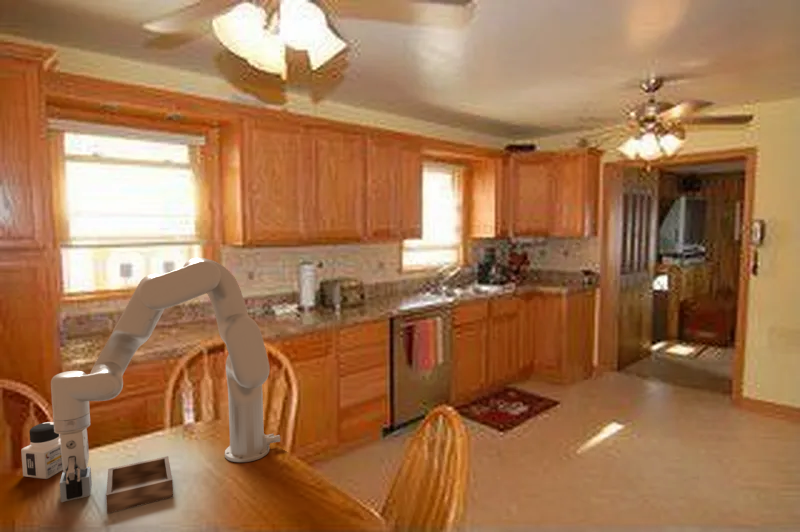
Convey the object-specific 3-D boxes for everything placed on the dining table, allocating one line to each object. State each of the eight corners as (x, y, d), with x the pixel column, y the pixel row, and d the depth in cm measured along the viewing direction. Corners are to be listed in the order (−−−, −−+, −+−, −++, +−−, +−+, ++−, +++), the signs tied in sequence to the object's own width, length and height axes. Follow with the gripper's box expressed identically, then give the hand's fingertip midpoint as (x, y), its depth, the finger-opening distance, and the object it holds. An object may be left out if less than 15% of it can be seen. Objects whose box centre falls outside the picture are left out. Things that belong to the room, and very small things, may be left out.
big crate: (169, 472, 133) (168, 456, 133) (173, 497, 121) (172, 479, 121) (109, 485, 127) (108, 468, 126) (107, 513, 115) (106, 495, 114)
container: (46, 479, 130) (43, 432, 129) (22, 476, 131) (18, 429, 130) (71, 465, 137) (68, 420, 136) (48, 462, 139) (45, 418, 138)
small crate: (91, 484, 127) (90, 466, 127) (90, 496, 122) (88, 476, 122) (63, 491, 125) (62, 472, 124) (61, 502, 119) (59, 483, 119)
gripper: (87, 431, 116) (92, 501, 118) (92, 407, 131) (96, 469, 133) (48, 438, 112) (53, 510, 114) (58, 413, 127) (62, 476, 129)
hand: (76, 488), depth 123 cm, fingers open, 9 cm apart
